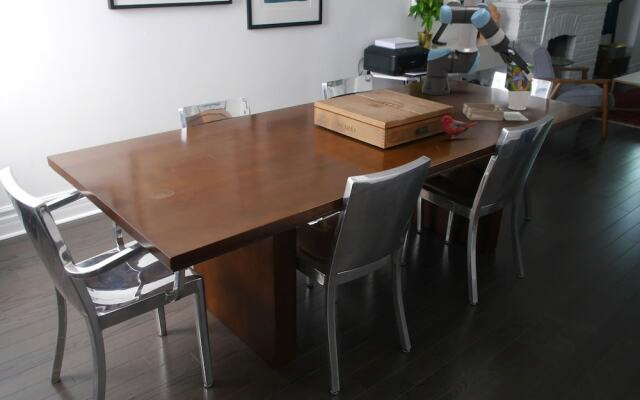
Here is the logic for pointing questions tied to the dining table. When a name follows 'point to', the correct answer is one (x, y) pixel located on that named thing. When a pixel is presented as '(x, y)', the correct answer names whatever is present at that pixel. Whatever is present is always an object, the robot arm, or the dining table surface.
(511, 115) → the sage-grey mat
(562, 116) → the dining table surface
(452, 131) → the decorative bird figurine
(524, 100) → the jar
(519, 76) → the chalk box
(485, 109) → the pale wooden box
